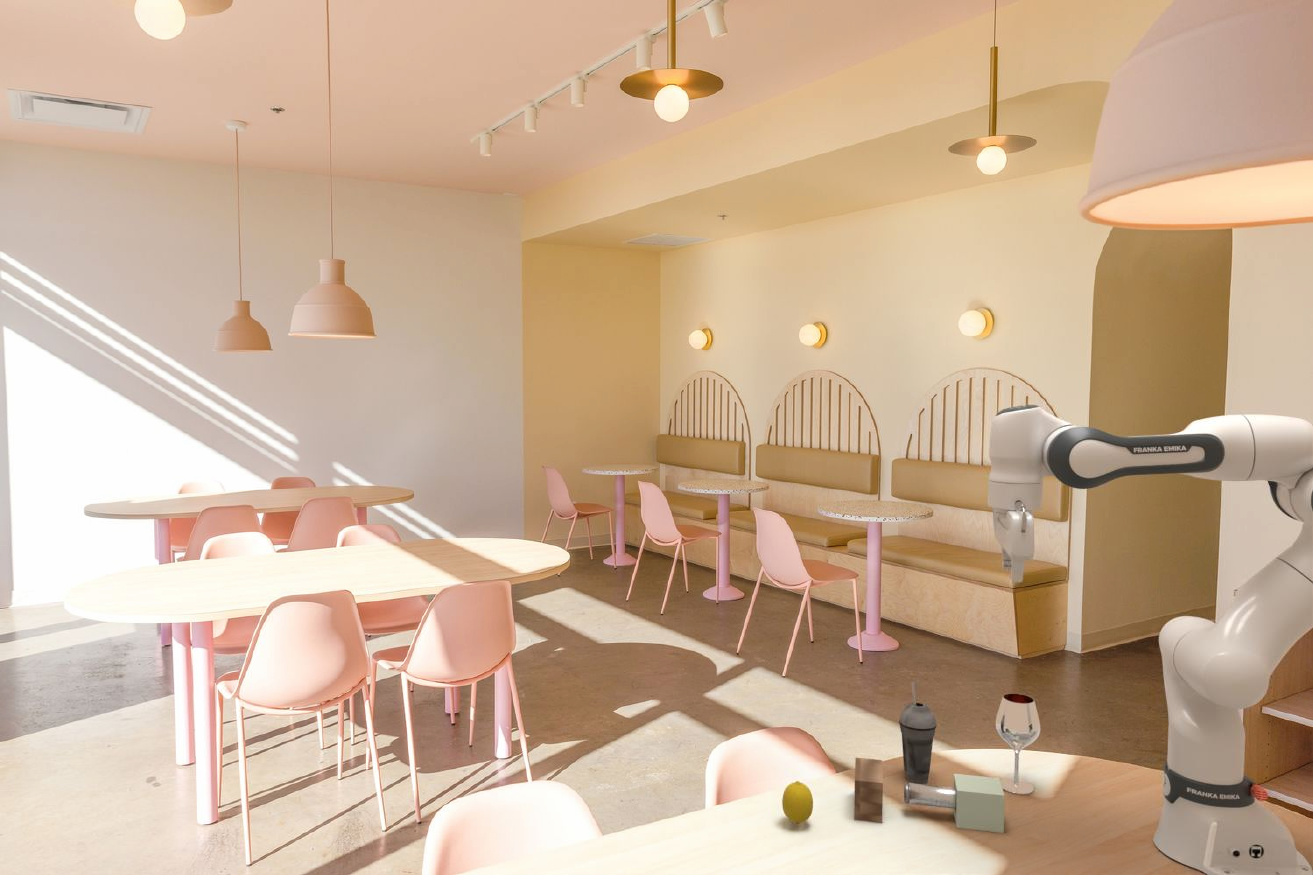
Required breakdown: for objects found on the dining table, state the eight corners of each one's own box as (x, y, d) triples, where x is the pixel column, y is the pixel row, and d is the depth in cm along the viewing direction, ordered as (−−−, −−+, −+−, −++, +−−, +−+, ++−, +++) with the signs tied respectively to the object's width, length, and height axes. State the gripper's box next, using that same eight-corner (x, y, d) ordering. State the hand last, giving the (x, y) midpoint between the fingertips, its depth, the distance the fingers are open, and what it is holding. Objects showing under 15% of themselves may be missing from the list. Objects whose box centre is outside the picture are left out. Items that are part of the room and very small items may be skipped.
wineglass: (1045, 796, 170) (1048, 706, 169) (1003, 796, 170) (1005, 705, 169) (1028, 777, 178) (1030, 691, 177) (987, 777, 179) (990, 690, 177)
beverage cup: (937, 788, 174) (939, 689, 172) (899, 785, 175) (901, 687, 174) (933, 772, 181) (935, 677, 179) (896, 769, 182) (898, 675, 181)
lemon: (818, 823, 160) (819, 780, 159) (801, 835, 156) (802, 791, 155) (793, 813, 164) (793, 771, 163) (775, 824, 160) (776, 781, 159)
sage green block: (998, 814, 164) (999, 778, 163) (1003, 832, 157) (1004, 795, 156) (952, 809, 165) (953, 773, 165) (956, 827, 159) (957, 790, 158)
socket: (881, 797, 170) (882, 760, 169) (882, 823, 160) (882, 783, 160) (855, 794, 171) (855, 757, 171) (854, 819, 161) (854, 780, 161)
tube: (993, 807, 162) (994, 788, 162) (996, 817, 158) (997, 797, 158) (903, 797, 166) (904, 778, 166) (904, 806, 162) (904, 787, 162)
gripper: (1045, 506, 143) (1042, 590, 144) (1024, 491, 163) (1021, 564, 164) (1004, 504, 145) (1001, 587, 146) (988, 490, 165) (986, 563, 166)
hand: (1012, 575), depth 155 cm, fingers open, 8 cm apart
